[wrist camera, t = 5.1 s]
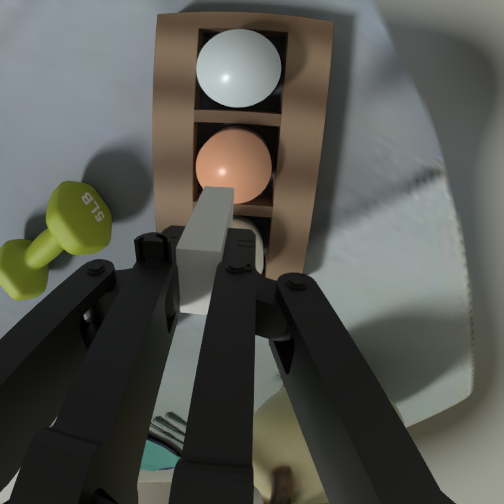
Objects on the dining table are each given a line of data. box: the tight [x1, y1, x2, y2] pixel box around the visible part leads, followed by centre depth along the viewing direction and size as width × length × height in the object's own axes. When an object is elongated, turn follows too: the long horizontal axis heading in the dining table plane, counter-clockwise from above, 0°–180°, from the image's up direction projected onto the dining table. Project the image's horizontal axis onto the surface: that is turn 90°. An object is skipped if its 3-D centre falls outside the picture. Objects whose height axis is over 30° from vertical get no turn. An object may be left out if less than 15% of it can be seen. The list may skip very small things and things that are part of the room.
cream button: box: [232, 215, 263, 274], centre depth 30 cm, size 6×6×4 cm
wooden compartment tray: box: [153, 12, 334, 281], centre depth 27 cm, size 26×14×3 cm, turn 176°
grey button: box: [196, 29, 281, 107], centre depth 22 cm, size 6×6×4 cm
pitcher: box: [252, 386, 405, 504], centre depth 35 cm, size 22×24×25 cm
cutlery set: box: [140, 413, 187, 471], centre depth 56 cm, size 20×30×2 cm, turn 126°
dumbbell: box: [0, 181, 112, 301], centre depth 30 cm, size 16×8×7 cm, turn 120°
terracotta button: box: [196, 125, 272, 204], centre depth 27 cm, size 6×6×4 cm
